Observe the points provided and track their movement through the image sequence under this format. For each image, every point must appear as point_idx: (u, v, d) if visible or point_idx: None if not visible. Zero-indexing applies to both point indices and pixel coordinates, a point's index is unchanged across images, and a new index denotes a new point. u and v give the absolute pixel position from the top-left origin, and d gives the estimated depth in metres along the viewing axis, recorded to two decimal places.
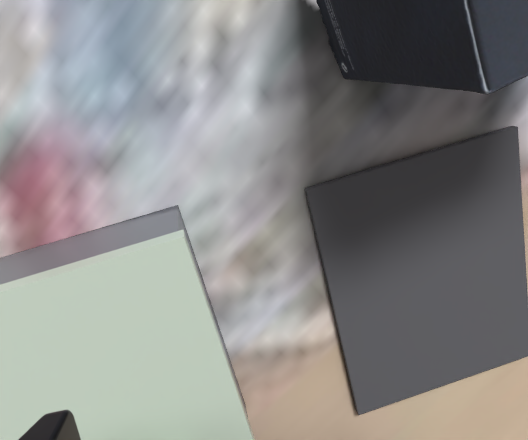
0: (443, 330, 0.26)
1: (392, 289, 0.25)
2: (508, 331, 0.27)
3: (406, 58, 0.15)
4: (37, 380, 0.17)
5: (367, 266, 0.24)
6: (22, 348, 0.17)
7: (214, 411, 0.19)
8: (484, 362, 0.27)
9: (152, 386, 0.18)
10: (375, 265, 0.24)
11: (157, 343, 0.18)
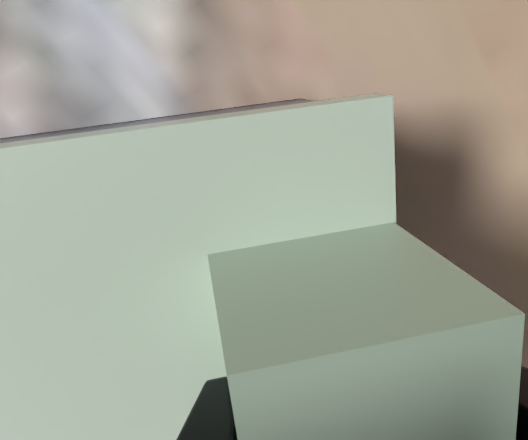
0: None
1: None
2: None
3: None
4: None
5: None
6: None
7: (113, 203, 0.08)
8: None
9: (13, 327, 0.08)
10: None
11: None
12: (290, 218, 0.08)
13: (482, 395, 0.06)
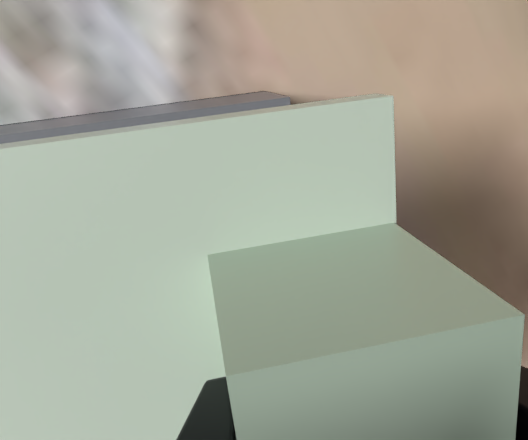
0: None
1: None
2: None
3: None
4: None
5: None
6: None
7: (113, 203, 0.08)
8: None
9: (13, 327, 0.08)
10: None
11: None
12: (290, 219, 0.08)
13: (482, 396, 0.06)
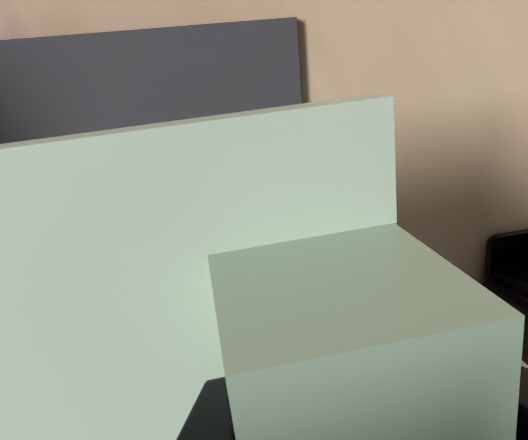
0: None
1: None
2: (242, 59, 0.18)
3: None
4: None
5: None
6: None
7: (113, 203, 0.08)
8: (285, 98, 0.18)
9: (13, 327, 0.08)
10: None
11: None
12: (290, 219, 0.08)
13: (481, 396, 0.06)
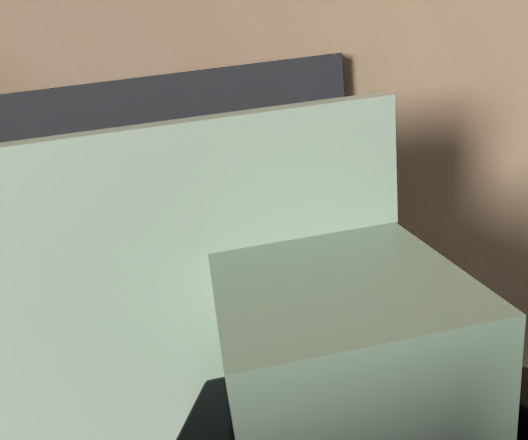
0: None
1: None
2: None
3: None
4: None
5: None
6: None
7: (113, 202, 0.08)
8: None
9: (14, 326, 0.08)
10: None
11: None
12: (291, 218, 0.08)
13: (482, 396, 0.06)
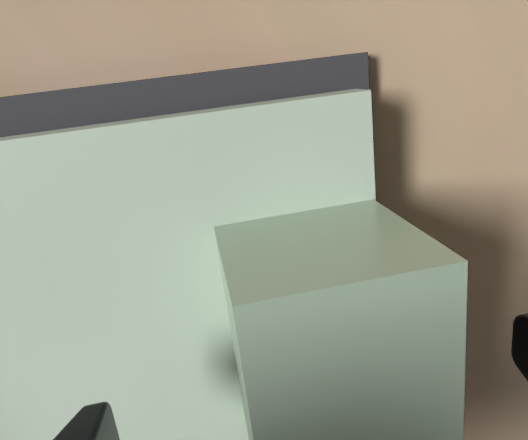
0: None
1: None
2: None
3: None
4: None
5: None
6: None
7: (134, 181, 0.09)
8: None
9: (49, 288, 0.09)
10: None
11: None
12: (284, 195, 0.10)
13: (436, 327, 0.07)
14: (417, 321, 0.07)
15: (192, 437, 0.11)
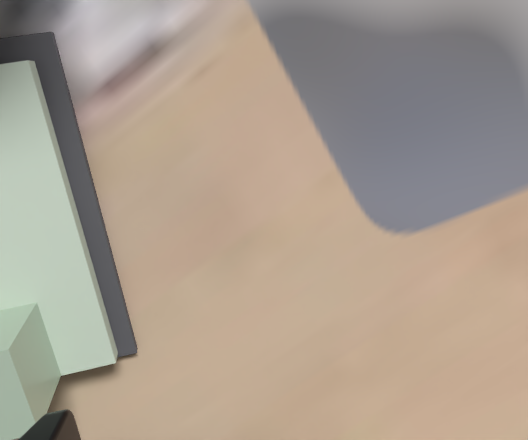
0: None
1: None
2: None
3: None
4: None
5: None
6: None
7: (57, 265, 0.19)
8: None
9: None
10: None
11: None
12: (58, 333, 0.19)
13: (5, 429, 0.16)
14: (7, 420, 0.16)
15: None
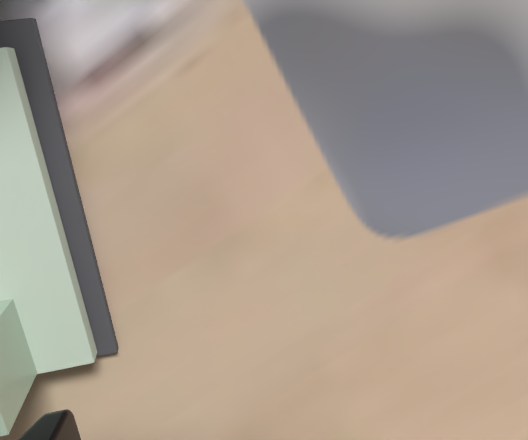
0: None
1: None
2: None
3: None
4: None
5: None
6: None
7: (34, 261, 0.18)
8: None
9: None
10: None
11: None
12: (34, 330, 0.19)
13: None
14: None
15: None
